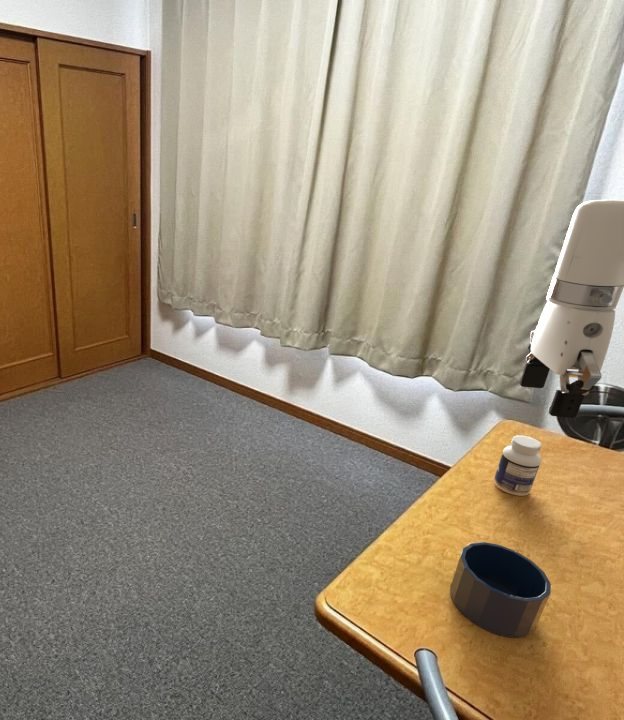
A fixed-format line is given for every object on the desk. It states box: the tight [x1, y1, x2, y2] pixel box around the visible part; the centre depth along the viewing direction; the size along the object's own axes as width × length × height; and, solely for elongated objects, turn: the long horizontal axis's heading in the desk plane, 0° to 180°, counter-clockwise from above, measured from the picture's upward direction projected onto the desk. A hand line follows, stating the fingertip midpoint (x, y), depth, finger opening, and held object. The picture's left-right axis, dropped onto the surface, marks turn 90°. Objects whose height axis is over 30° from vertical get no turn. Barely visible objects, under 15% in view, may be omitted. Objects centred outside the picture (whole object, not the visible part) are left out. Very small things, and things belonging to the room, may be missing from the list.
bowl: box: [449, 541, 552, 639], centre depth 62 cm, size 9×9×6 cm
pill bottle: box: [493, 435, 542, 497], centre depth 84 cm, size 5×5×10 cm
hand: (545, 400), depth 73 cm, fingers open, 9 cm apart
